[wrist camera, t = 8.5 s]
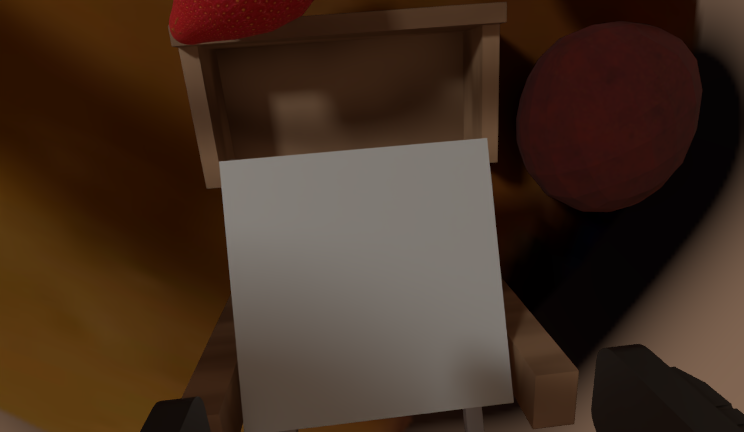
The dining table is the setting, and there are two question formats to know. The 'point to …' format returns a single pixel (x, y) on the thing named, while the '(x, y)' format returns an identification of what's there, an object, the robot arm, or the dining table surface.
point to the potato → (609, 114)
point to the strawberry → (230, 18)
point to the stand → (360, 143)
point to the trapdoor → (366, 285)
